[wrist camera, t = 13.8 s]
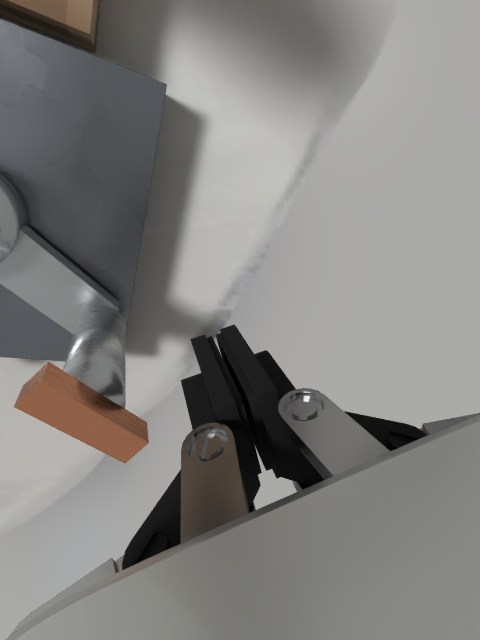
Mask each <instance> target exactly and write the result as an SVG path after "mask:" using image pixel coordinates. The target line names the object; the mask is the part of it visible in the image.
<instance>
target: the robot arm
mask: <svg viewBox="0 0 480 640" xmlns="http://www.w3.org/2000/svg"><path fill="white" fill-rule="evenodd" d="M220 332H221V333H220V334H217V335H216V338H217V341H218V345H219V348H220V352H221V355H220V352H219V350H218V348H217V346H216V344H215V342H214V340H213V338H212V336H211V337H208V338H206V336H205V335H202V336H199V337H196V338H193V339H191V342H192V345H193V348H194V351H195V355H196V358H197V361H198V364H199V366H200V370H201V373H200V374H197V375H194V376H192V377H189V378H186V379H183V380H181V383H182V387H183V391H184V395H185V399H186V404H187V408H188V412H189V416H190V420H191V424H192V429H193V430H192V431H191V432H190V433H189V435H187V437H186V439H185V440H184V442H183V444H182V450H181V470H180V471H179V473H178V474H177V476H176V477H175V479H174V480H173V481H172V483H171V484H170V486H169V487H168V489H167V490H166V492H165V493H164V494H163V496H162V497H161V499H160V500H159V501H158V503H157V504H156V506H155V507H154V509H153V510H152V511H151V513H150V514H149V516H148V517H147V519H146V520H145V522H144V523H143V524H142V526H141V527H140V529H139V530H138V532H137V533H136V534H135V536H134V537H133V539H132V540H131V542H130V544H129V546H128V547H127V549H126V551H125V555H123V556H122V557H120V558H119V559H117V560H116V561H114V560H113V559H112V558H111V559H109V560H108V561H106V562H105V563H103V564H102V565H100V566H99V567H97V568H96V569H94V570H93V571H91V572H90V573H89V574H87V575H85V576H84V577H83V578H81V579H80V580H78V581H77V582H75V583H74V584H72V585H71V586H69V587H68V588H66V589H65V590H63V591H62V592H61V593H59V594H57V595H56V596H55V597H53V598H52V599H50V600H49V601H47V602H46V603H44V604H43V605H42V606H40V607H38V608H37V609H36V610H34V611H32V612H31V613H30V614H29V615H28V616H26V617H25V618H24V619H23V620H22V621H21V622H20V623H19V624H18V625H17V626H16V628H15V629H14V631H13V632H12V633H11V634H10V636H9V637H8V638H7V639H6V640H480V413H478V414H473V415H467V416H462V417H457V418H451V419H446V420H441V421H435V422H430V423H424V424H423V425H422V428H420V429H418V428H416V427H414V426H411V425H408V424H404V423H399V422H394V421H389V420H384V419H380V418H375V417H370V416H365V415H360V414H355V413H350V412H345V411H343V410H341V409H340V408H339V407H338V406H337V405H336V404H334V403H333V402H332V401H331V400H330V399H329V398H328V397H326V396H325V395H324V394H322V393H321V392H319V391H317V390H313V389H307V388H302V389H295V387H294V386H293V385H292V383H291V382H290V381H289V379H288V378H287V377H286V375H285V374H284V372H283V371H282V370H281V368H280V367H279V366H278V365H277V363H276V362H275V360H274V359H273V358H272V356H271V355H270V353H269V352H268V351H266V350H265V351H263V352H260V353H257V354H254V353H253V352H252V350H251V349H250V347H249V346H248V344H247V343H246V341H245V340H244V338H243V337H242V335H241V334H240V332H239V331H238V329H237V327H236V326H235V325H232V326H229V327H226V328H223V329H220ZM221 356H222V357H221ZM254 444H255V445H254ZM255 447H256V449H257V451H258V453H259V456H260V458H261V460H262V462H263V465H264V467H265V469H266V470H270V469H273V472H274V473H275V476H276V478H279V477H283V478H286V479H289V480H292V481H293V485H294V487H295V489H296V490H297V492H296V493H294V494H292V495H290V496H287V497H285V498H283V499H280V500H278V501H276V502H274V503H271V504H269V505H267V506H265V507H262V508H260V509H258V510H256V509H255V505H254V502H253V500H254V498H255V496H256V494H257V492H258V490H259V487H260V481H259V478H258V474H260V473H261V469H260V464H259V461H258V457H257V453H256V449H255Z"/></svg>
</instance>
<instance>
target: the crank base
mask: <svg viewBox="0 0 480 640" xmlns="http://www.w3.org/2000/svg"><path fill="white" fill-rule="evenodd" d="M166 86H167V84H165V83H162V82H160V81H157V80H155V79H152V78H150V77H147V76H144V75H142V74H139V73H137V72H134V71H132V70H129V69H127V68H124V67H122V66H119V65H117V64H114V63H112V62H109V61H106V60H104V59H101V58H99V57H96V56H94V55H91V54H89V53H86V52H84V51H81V50H79V49H76V48H73V47H71V46H68V45H66V44H63V43H61V42H58V41H56V40H53V39H51V38H48V37H46V36H43V35H41V34H38V33H35V32H33V31H30V30H28V29H25V28H23V27H20V26H18V25H15V24H13V23H10V22H8V21H5V20H3V19H0V173H1V174H2V175H3V176H4V177H5V178H6V179H7V180H8V181H9V182H10V183H11V184H12V186H13V187H14V188H15V190H16V191H17V193H18V194H19V196H20V198H21V200H22V202H23V205H24V208H25V212H26V219H27V226H28V227H29V228H30V229H31V230H32V231H34V232H35V233H36V234H37V235H38V236H40V237H41V238H42V239H43V240H45V241H46V242H47V243H48V244H49V245H51V246H52V247H53V248H54V249H56V250H57V251H58V252H59V253H60V254H62V255H63V256H64V257H65V258H66V259H68V260H69V261H70V262H71V263H73V264H74V265H75V266H76V267H77V268H79V269H80V270H81V271H82V272H84V273H85V274H86V275H87V276H88V277H90V278H91V279H92V280H93V281H94V282H96V283H97V284H98V285H99V286H101V287H102V288H103V289H104V290H105V291H107V292H108V293H109V294H110V295H112V296H113V297H114V298H115V299H116V300H118V301H119V310H118V312H119V313H120V314H121V315H122V316H123V318H124V321H125V335H126V329H127V323H128V317H129V311H130V305H131V299H132V293H133V286H134V280H135V274H136V268H137V262H138V256H139V250H140V244H141V238H142V232H143V226H144V220H145V214H146V208H147V202H148V196H149V189H150V183H151V177H152V171H153V165H154V159H155V153H156V147H157V141H158V135H159V129H160V123H161V117H162V111H163V105H164V98H165V92H166ZM72 338H73V334H72V333H71V332H69V331H68V330H66V329H65V328H63V327H62V326H60V325H59V324H58V323H56V322H55V321H53V320H52V319H50V318H49V317H48V316H46V315H45V314H43V313H42V312H40V311H39V310H37V309H36V308H35V307H33V306H32V305H30V304H29V303H27V302H26V301H24V300H23V299H22V298H20V297H19V296H17V295H16V294H14V293H13V292H12V291H10V290H9V289H7V288H6V287H4V286H3V285H1V284H0V357H9V358H24V359H38V360H53V361H66V359H67V355H68V352H69V348H70V345H71V341H72Z"/></svg>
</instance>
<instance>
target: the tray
mask: <svg viewBox="0 0 480 640" xmlns="http://www.w3.org/2000/svg"><path fill="white" fill-rule="evenodd" d="M99 8H100V0H0V15H2V16H4V17H7V18H9V19H12V20H14V21H17V22H20V23H22V24H25V25H27V26H30V27H32V28H35V29H37V30H40V31H42V32H45V33H47V34H50V35H52V36H55V37H57V38H60V39H62V40H65V41H67V42H70V43H72V44H75V45H77V46H80V47H82V48H85V49H87V50H90V51H92V52H95V49H96V39H97V28H98V18H99Z"/></svg>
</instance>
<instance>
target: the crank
mask: <svg viewBox="0 0 480 640" xmlns="http://www.w3.org/2000/svg"><path fill="white" fill-rule="evenodd" d="M0 284H1V285H3V286H4V287H6V288H7V289H9V290H10V291H12V292H13V293H14V294H16V295H17V296H19V297H20V298H22V299H23V300H24V301H26V302H27V303H29V304H30V305H32V306H33V307H35V308H36V309H37V310H39V311H40V312H42V313H43V314H45V315H46V316H48V317H49V318H50V319H52V320H53V321H55V322H56V323H58V324H59V325H60V326H62V327H63V328H65V329H66V330H68V331H69V332H71V333H72V334H73V338H72V341H71V345H70V348H69V352H68V355H67V359H66V362H65V365H64V369H63V370H61V369H59V368H58V367H56V366H55V365H53V364H51V363H50V362H48V363H47V364H46V365H45V366H44V367H43V368H42V369H41V370H40V371H38V372H37V373H36V374H35V375H34V376H33V377H32V378H31V379H30V380H29V381H28V382H27V383H26V384H24V385H23V387H22V390H21V392H20V394H19V396H18V399H17V401H16V403H15V405H14V407H15V408H17V409H19V410H21V411H23V412H25V413H27V414H29V415H31V416H33V417H35V418H37V419H39V420H41V421H43V422H45V423H47V424H49V425H50V426H52V427H54V428H56V429H58V430H60V431H62V432H64V433H66V434H68V435H70V436H72V437H74V438H76V439H78V440H80V441H82V442H84V443H86V444H88V445H90V446H92V447H94V448H96V449H98V450H100V451H102V452H104V453H106V454H107V455H109V456H111V457H113V458H116V459H117V460H119V461H121V462H123V463H126V462H127V461H129V460H130V459H131V458H132V457H133V456H134V455H135V454H137V452H139V451H140V450H141V449H142V448H143V447H144V446H146V445H147V444H148V443H149V442H148V430H147V422H145V421H144V420H142V419H140V418H139V417H137V416H136V415H134V414H132V413H131V412H129V411H127V410H126V409H125V321H124V318H123V316H122V315H121V314H120V313H119V312H118V310H119V301H118V300H116V299H115V298H114V297H113V296H112V295H110V294H109V293H108V292H107V291H105V290H104V289H103V288H102V287H101V286H99V285H98V284H97V283H96V282H94V281H93V280H92V279H91V278H90V277H88V276H87V275H86V274H85V273H84V272H82V271H81V270H80V269H79V268H77V267H76V266H75V265H74V264H73V263H71V262H70V261H69V260H68V259H66V258H65V257H64V256H63V255H62V254H60V253H59V252H58V251H57V250H56V249H54V248H53V247H52V246H51V245H49V244H48V243H47V242H46V241H45V240H43V239H42V238H41V237H40V236H38V235H37V234H36V233H35V232H34V231H32V230H31V229H30V228H29V227H28V226H27V219H26V212H25V208H24V205H23V202H22V200H21V198H20V196H19V194H18V193H17V191H16V190H15V188H14V187H13V186H12V184H11V183H10V182H9V181H8V180H7V179H6V178H5V177H4V176H3V175H2V174H1V173H0Z"/></svg>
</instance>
